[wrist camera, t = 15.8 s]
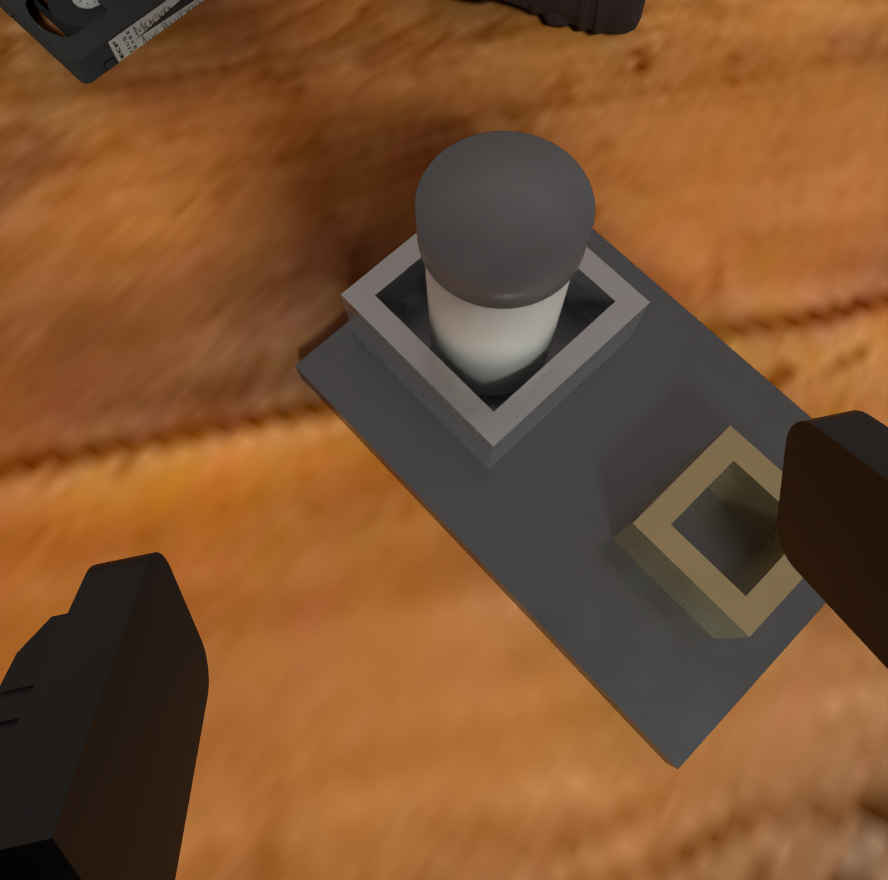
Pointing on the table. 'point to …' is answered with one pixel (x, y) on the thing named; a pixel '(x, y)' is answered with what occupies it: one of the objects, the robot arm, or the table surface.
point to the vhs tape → (97, 29)
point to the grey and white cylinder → (500, 253)
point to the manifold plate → (595, 483)
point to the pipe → (588, 13)
